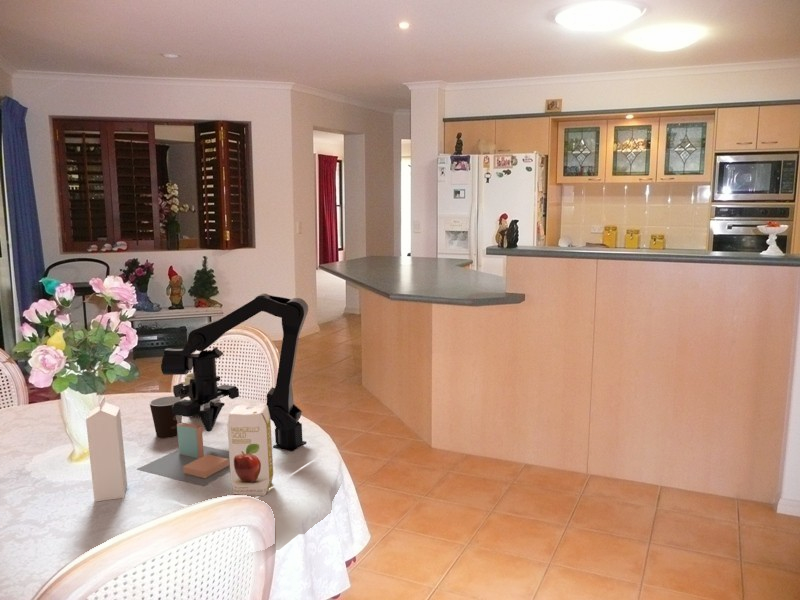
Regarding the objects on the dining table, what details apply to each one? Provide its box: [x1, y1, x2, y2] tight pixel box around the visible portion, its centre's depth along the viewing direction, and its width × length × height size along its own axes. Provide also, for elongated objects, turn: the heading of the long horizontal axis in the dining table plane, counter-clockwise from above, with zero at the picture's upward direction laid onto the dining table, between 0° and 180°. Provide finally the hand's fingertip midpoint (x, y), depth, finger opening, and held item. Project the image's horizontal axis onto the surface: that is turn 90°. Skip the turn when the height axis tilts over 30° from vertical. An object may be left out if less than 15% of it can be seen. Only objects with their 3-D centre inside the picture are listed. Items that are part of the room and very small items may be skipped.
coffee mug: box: [149, 395, 184, 439], centre depth 174 cm, size 12×9×10 cm
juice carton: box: [226, 404, 274, 497], centre depth 138 cm, size 8×9×19 cm
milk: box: [85, 396, 128, 503], centre depth 137 cm, size 6×6×22 cm
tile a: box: [183, 454, 229, 478], centre depth 149 cm, size 7×2×8 cm
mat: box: [136, 445, 230, 487], centre depth 154 cm, size 22×18×1 cm
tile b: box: [177, 422, 204, 458], centre depth 158 cm, size 7×2×8 cm, turn 63°
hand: (209, 431), depth 164 cm, fingers closed
